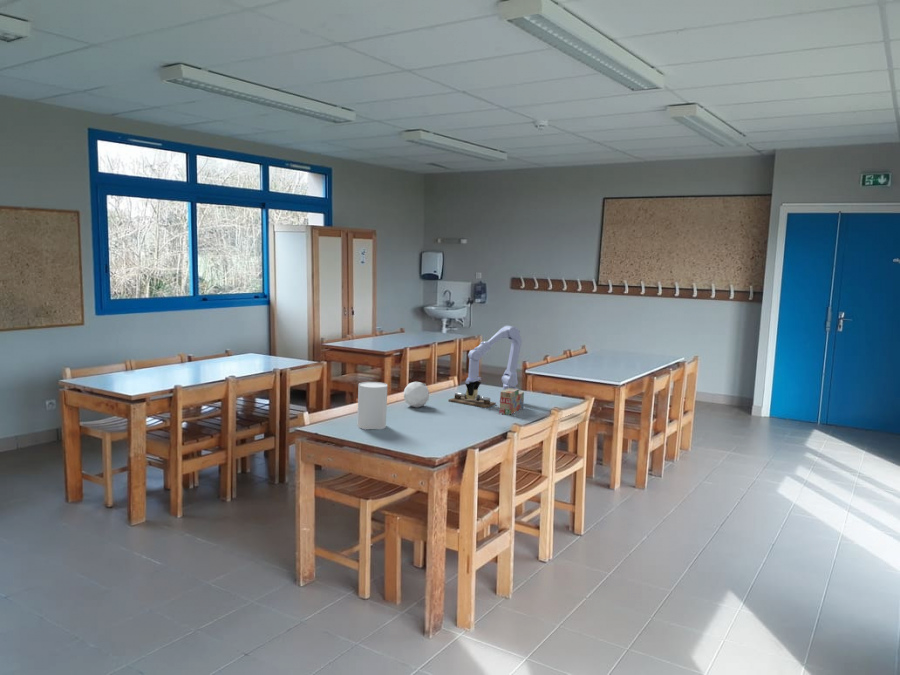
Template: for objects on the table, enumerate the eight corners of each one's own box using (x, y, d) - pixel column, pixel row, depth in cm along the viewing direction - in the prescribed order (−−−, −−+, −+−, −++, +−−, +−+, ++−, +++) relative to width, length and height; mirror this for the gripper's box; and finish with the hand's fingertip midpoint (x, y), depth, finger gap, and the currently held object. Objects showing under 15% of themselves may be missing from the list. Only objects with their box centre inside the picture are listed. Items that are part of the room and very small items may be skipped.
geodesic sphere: (437, 394, 368) (423, 373, 367) (434, 399, 353) (419, 377, 353) (415, 409, 370) (401, 387, 369) (411, 415, 356) (396, 392, 355)
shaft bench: (495, 404, 377) (495, 399, 377) (485, 408, 367) (485, 402, 367) (459, 398, 390) (459, 393, 389) (448, 401, 379) (448, 396, 379)
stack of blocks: (512, 406, 375) (514, 385, 374) (523, 408, 372) (524, 386, 371) (499, 413, 356) (500, 391, 354) (510, 415, 353) (511, 392, 352)
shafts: (490, 402, 374) (491, 396, 374) (487, 403, 371) (488, 397, 371) (457, 396, 385) (457, 390, 385) (453, 397, 382) (454, 391, 382)
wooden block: (477, 398, 379) (477, 389, 378) (473, 399, 375) (474, 390, 375) (469, 396, 381) (470, 388, 381) (466, 397, 378) (466, 389, 377)
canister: (387, 429, 311) (389, 387, 309) (358, 429, 308) (359, 387, 306) (384, 422, 324) (385, 382, 322) (356, 422, 322) (357, 381, 319)
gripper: (473, 368, 384) (472, 391, 386) (461, 371, 372) (459, 395, 374) (484, 370, 381) (483, 393, 382) (472, 373, 369) (470, 397, 370)
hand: (472, 394), depth 378 cm, fingers closed on wooden block, 4 cm apart
